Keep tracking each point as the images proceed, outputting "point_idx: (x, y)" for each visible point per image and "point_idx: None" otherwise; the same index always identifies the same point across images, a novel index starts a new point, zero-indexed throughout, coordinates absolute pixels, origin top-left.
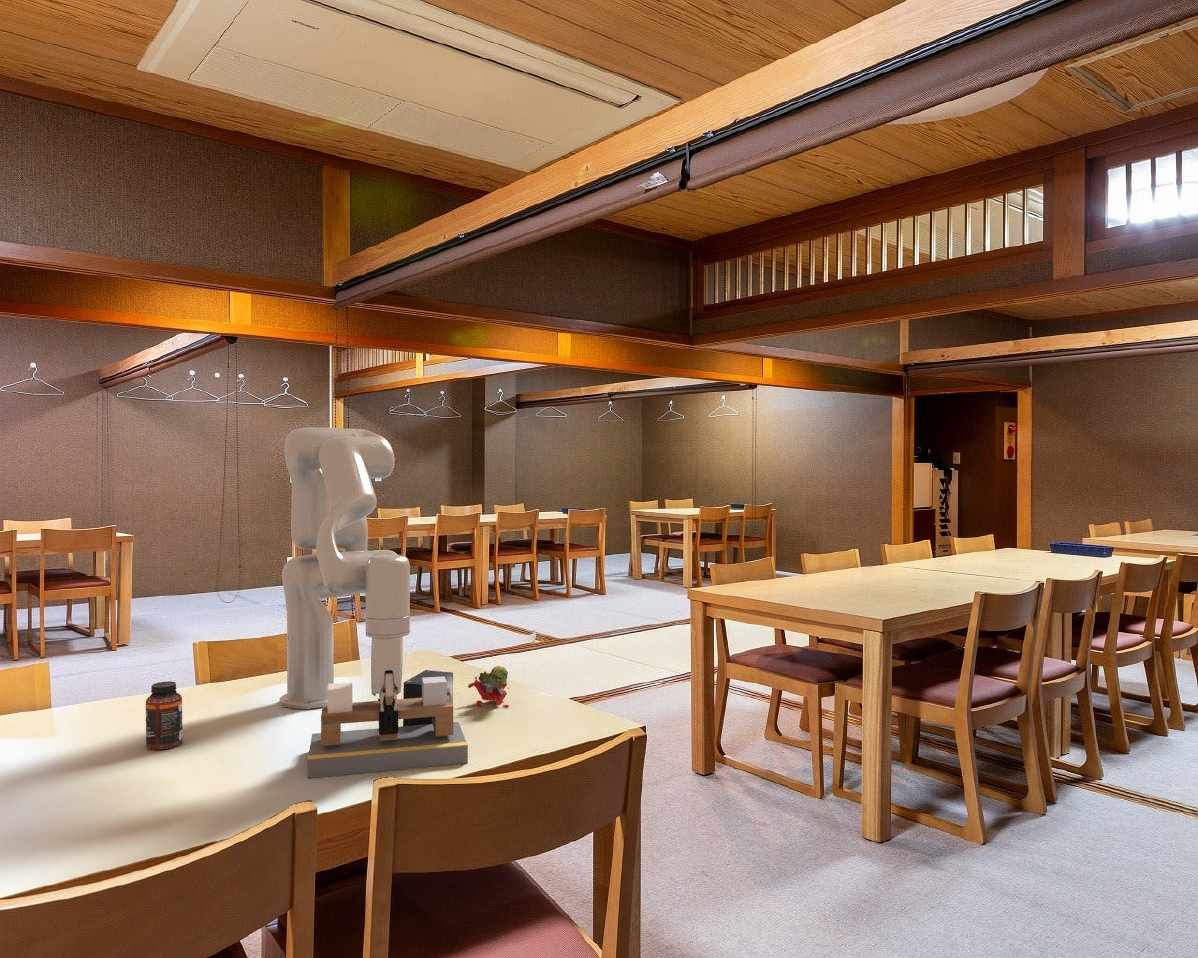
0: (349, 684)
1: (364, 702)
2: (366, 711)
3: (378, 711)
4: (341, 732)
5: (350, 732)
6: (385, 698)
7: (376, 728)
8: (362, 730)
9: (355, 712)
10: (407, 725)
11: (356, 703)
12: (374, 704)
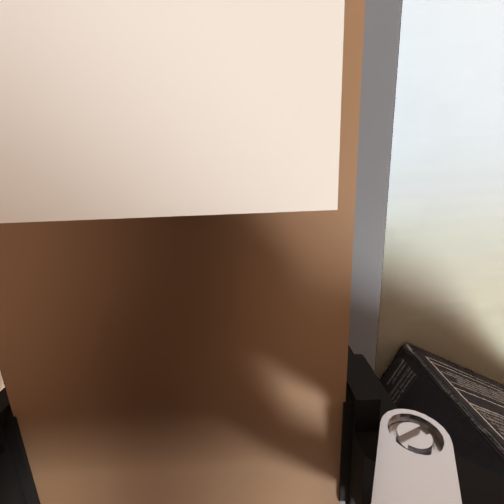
0: (25, 113)
1: (327, 289)
2: (31, 316)
3: (30, 403)
4: (374, 115)
5: (359, 162)
6: (356, 452)
7: (380, 279)
8: (371, 219)
9: (2, 223)
10: (417, 386)
11: (311, 219)
12: (241, 370)
